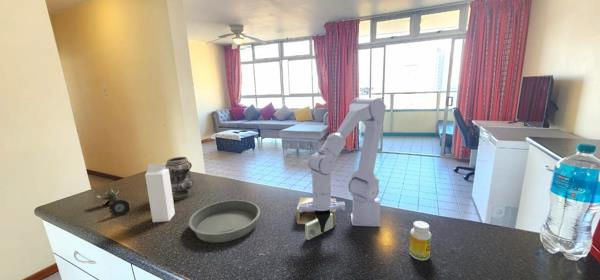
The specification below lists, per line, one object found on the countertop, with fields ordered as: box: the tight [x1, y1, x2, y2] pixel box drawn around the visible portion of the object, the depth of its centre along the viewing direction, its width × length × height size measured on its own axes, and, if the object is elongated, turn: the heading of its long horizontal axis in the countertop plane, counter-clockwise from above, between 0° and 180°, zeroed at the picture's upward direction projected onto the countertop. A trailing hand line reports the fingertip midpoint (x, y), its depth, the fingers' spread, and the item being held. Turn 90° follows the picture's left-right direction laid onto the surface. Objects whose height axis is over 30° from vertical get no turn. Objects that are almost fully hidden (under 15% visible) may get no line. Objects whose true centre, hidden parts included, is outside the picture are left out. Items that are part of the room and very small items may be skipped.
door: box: [304, 211, 336, 241], centre depth 83 cm, size 12×3×6 cm, turn 128°
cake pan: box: [188, 199, 261, 243], centre depth 91 cm, size 25×25×4 cm
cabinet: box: [296, 197, 337, 226], centre depth 94 cm, size 14×10×6 cm
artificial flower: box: [96, 186, 131, 218], centre depth 108 cm, size 9×22×10 cm, turn 41°
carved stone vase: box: [165, 156, 195, 201], centre depth 117 cm, size 12×12×18 cm
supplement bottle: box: [408, 220, 432, 261], centre depth 71 cm, size 5×5×10 cm
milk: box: [144, 162, 176, 223], centre depth 96 cm, size 6×6×22 cm
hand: (322, 230), depth 81 cm, fingers closed
